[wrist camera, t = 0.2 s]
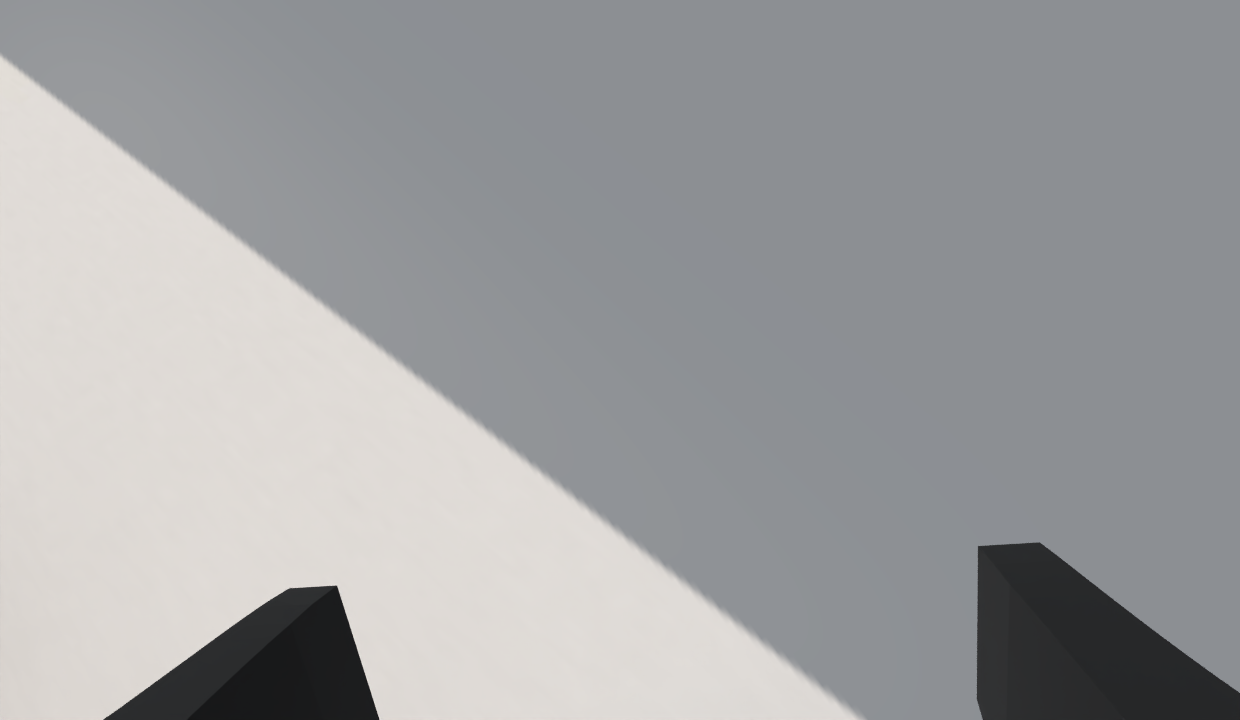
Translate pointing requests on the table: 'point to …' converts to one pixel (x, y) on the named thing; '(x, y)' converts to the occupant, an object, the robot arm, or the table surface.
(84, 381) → the table surface
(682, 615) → the table surface
